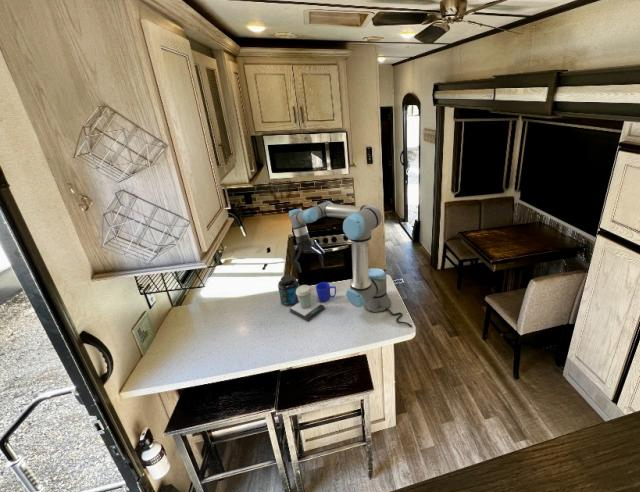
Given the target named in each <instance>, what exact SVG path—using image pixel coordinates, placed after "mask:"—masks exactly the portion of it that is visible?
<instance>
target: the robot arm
mask: <svg viewBox="0 0 640 492" xmlns="http://www.w3.org/2000/svg"><path fill="white" fill-rule="evenodd" d="M288 216H289V220H290V223H291V228H292V230H293V233H294V236H295V240H296V245H295V244H294V245H292V247H291V248H292V252H291V258H290V263H294V266H295V268H296V269H297V271H298V274H301V273H302V268H301V264H300V262H299V258H300V256H301V254H302V252H305V251H309V250H310V251H312V252H313V253H315V254H316V255H318V259H319V263H320V267H321V268H324V267H325V264H324V261H325V259H324V254H326V251H325V250H324V249H323V248H322V246H320V245H319V243H318V242H317V240H316V239H314V240H312V241H311V238H310V235H309V231H308V227H307V224H311V223H313V222H316V221H317V220H319V219H322V218H323V217H330V218H339V219H344V220H343V223H342V230H343V234H344V235H345V237H346V238H347V239H348V240H349V241H350V242H351V266H352V267H351V269H352V278H351V279H350V282H349V288H348V289H347V291H345V295H346V298H347V299H346V300H348V302H349V303H350V304H351V305H353V306H354V307H356V308H361V307H363V306H364V308H365V309H366V310H367V311H369V312H371V313H382V312H384V311H388V312H389V313H390V314H391V315H392V316H397V315H399V316H398V317H397V318H396V322H397V323H399V324H405V325H408V326H409V327H410V328H412V327H413V326H412V325H411V324H410V323H409V322H407V321H400V320H399V319H400V318H401V317H402V316H403V313H402V312H397V313H393V312H392V311H391V310H390V309H389V308H390V306H391V299H390V298H389V295H388V289H387V286H388V285H387V273H386V271H385V270H383V269H381V268H370V266H369V263H370V261H369V258H370V257H369V253H370V251H369V250H370V249H369V242H370V241H371V240H372V231H373V230H375V229H376V228H378V227H379V226H380V225H381V223H382V220H383V215H382V212H381V210H380V209H379V208H378V207H376V206H374V205H371V204H370V205H369V204H363V205H361V206H358V205H349V204H337V203H333V202H331V201H330V200H329V201H323V202H322V203H319V204H317V205H314V206H312V207H309V208H307V209H304V210H302V208H299V207H298V208H296V209H291V210H289V211H288ZM312 245H314V246H315V247H316V248H315V247H314V246H312ZM297 249H298V252H297ZM296 253H297V254H296Z"/></svg>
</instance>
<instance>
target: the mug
mask: <svg viewBox="0 0 640 492" xmlns="http://www.w3.org/2000/svg"><path fill="white" fill-rule="evenodd" d="M331 289H334V295H331ZM315 291H316V294H317V299H318V301H319V302H320V303H326V302H328V301H329V300H330V298H335V297H336V295H337V286H335V285H334V286H333V285H330V283H329V282H326V281H322V282H318V283H317V284H316V285H315Z"/></svg>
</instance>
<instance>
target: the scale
mask: <svg viewBox="0 0 640 492" xmlns="http://www.w3.org/2000/svg"><path fill="white" fill-rule="evenodd" d="M325 310H326V309H325V305H323V304H321V302H318V301H315V300H314V299H312V298H311V306H310V307H309V308H307V309H302V308H301V306H300V303H299V302H298V303H296V304H294V305H292V306H291V307H290V308H289V311H290V313H291V314H293V315H295V316H297V317H299V318H300V319H302V320H304V321H306V322H309V321H311V320H312V319H313V318H315V317H316V316H317V315H319V314H321V312H323V311H325Z"/></svg>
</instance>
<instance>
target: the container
mask: <svg viewBox="0 0 640 492" xmlns="http://www.w3.org/2000/svg"><path fill="white" fill-rule="evenodd" d="M299 286H300V282H299V280H298V279H297V277H296V276H294V275H293V274H286V275H284V276H283V275H282V277H281V278H280V280H279V281H278V283H277V288H278V295H279V298H280V304H282V305H283V306H286V307H288V306H291V307H292V306H294V305H296V304H297V303H299V300H298V297H297V294H296V289H297V288H298V287H299Z"/></svg>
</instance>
